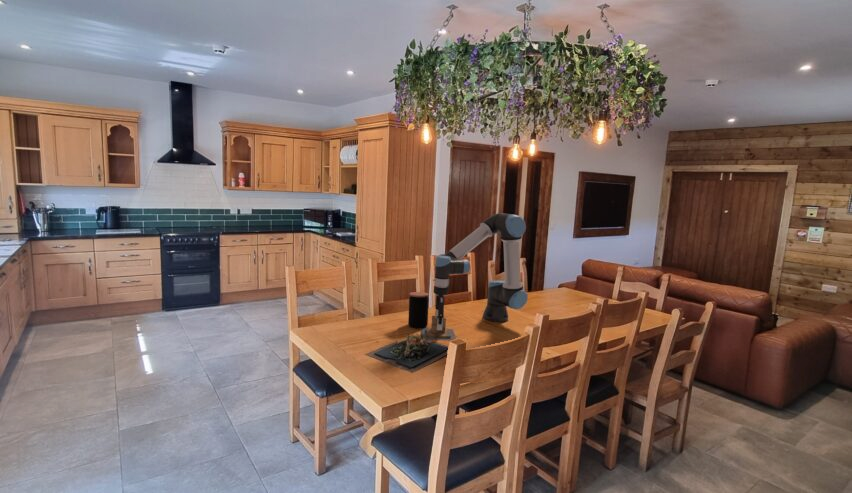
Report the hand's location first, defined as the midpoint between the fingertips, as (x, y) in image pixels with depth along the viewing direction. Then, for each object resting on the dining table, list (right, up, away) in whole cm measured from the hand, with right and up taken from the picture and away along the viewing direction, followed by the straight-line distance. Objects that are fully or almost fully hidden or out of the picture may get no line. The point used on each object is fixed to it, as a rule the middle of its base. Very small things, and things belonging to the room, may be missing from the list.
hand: (438, 325), depth 231 cm
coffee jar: (-11, -3, +12) cm, 16 cm away
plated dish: (-13, -8, -25) cm, 29 cm away
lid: (0, -4, +1) cm, 5 cm away
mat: (0, -5, +1) cm, 5 cm away
